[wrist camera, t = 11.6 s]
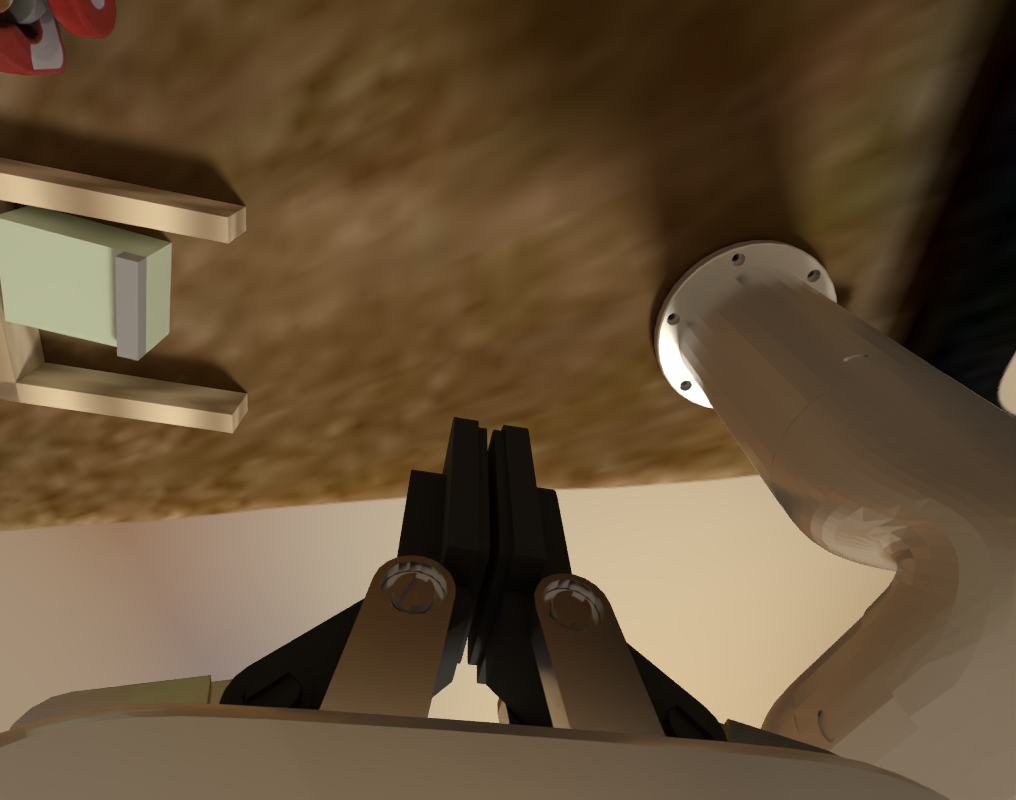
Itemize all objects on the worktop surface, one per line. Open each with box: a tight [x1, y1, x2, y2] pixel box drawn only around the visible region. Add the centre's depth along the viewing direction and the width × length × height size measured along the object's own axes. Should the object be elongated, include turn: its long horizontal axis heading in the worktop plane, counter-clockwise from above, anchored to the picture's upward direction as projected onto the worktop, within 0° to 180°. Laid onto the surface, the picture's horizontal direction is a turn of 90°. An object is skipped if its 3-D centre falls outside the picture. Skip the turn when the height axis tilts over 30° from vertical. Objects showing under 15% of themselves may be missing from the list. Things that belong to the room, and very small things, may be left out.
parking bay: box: [0, 157, 248, 433], centre depth 37 cm, size 15×15×3 cm
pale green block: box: [0, 205, 172, 361], centre depth 35 cm, size 8×6×4 cm
